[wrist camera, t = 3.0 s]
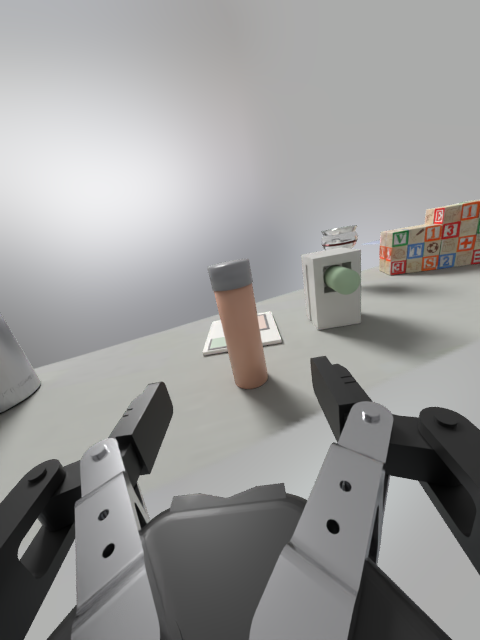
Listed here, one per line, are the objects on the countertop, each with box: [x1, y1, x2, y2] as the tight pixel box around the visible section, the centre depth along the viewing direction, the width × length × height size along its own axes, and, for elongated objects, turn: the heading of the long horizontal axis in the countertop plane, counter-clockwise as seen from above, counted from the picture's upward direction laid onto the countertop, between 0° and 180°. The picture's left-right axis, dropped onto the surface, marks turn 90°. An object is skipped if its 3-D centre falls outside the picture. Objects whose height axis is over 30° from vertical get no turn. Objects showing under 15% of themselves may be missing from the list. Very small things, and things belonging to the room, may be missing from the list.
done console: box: [301, 247, 361, 330], centre depth 33 cm, size 6×6×10 cm
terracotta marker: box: [208, 259, 268, 389], centre depth 23 cm, size 4×4×12 cm
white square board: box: [202, 311, 282, 356], centre depth 37 cm, size 11×12×1 cm
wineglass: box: [322, 225, 358, 250], centre depth 48 cm, size 7×7×12 cm
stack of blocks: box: [379, 200, 480, 275], centre depth 49 cm, size 21×6×12 cm, turn 81°
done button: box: [323, 265, 360, 295], centre depth 29 cm, size 3×4×3 cm
